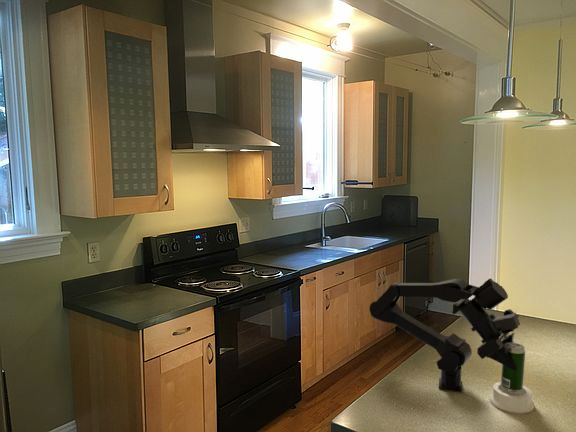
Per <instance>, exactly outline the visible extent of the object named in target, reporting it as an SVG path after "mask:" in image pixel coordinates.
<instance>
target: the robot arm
mask: <svg viewBox="0 0 576 432" xmlns="http://www.w3.org/2000/svg"><path fill="white" fill-rule="evenodd" d="M472 296H474V297H473V298H472V299H470V298H471V297H472ZM401 297H402V298H403V297H405V298H406V297H409V298H434V299H438V300H441V301H444V302H447V303H453V304H452V311H451V314H453V315H456V314H457V313H458V312H460V314H461V315H462V316H463V317H464V318H465V319H466V321H467V322H468V323H469V324H470V326H471V328H470V330H471V331H472V332H473V333H474V332H476V333H477V334H478V335H479V336H480V338H481V341H480V342H481V344H480V345H479V346H478V347H477V350H476V351H477V352H476V354H477V355H478V356H479V358H480V359H481V360H483V359H485V358H489V359H490V360H493V361H495V362H497V363H499V364H501V365H502V364H503V365H505V366H506V367H508V368H510V369H512V370H514V371H515V370H517V369H518V368H517V366H516V365H515V363H514V361H513V360H512V358H511V357H510V355H509V354H508V352H507V351H506V345H507V343H515V342H514V337H515V332H514V331H515V330H516V329H518V328H519V326H520V325H521V322H520V320H519V318H520V317H519V316H520V315H518V314H517V312H514V311H513V310H512V309H510V308H509V309H506V310H504V311H503V314H502V315H500V316H497V317H496V316H495V315H494V314H493V313H490V314H489V312H487V310H490V311H491V310H493V309H494V308H495V307H497V306H498V305H500V304H501V303H503V302H504V301H507V299H508V298H509V295H508V293H507V291H506V289H505V288H504V287H503V286H502V285H500V284H499V283H498V282H496V281H494V280H493V279H492V278H488V279H487V280H486V281H484V283H483V284H481V285H479V286H476V285H473V284H469V283H467V282H466V281H464V279H462V278H453V279H448V280H443V281H440V282H439V281H438V282H399V281H397V282H395V283H392V284H391V285H389V287H388V288H387V290H386V291H385V292H384V293H383V294H382V295H380V296H379V298H377V299H376V300H374V301H372V303H371V302H370V303H371V304H369V312H370V315H371V317H372V318H374V319H375V320H377V321H380V322H382V323H387V324H392V325H395V326H397V327H398V328H400V329H401V330H404V331H405V332H407V333H408V334H410V335H411V336H413V337H415V338H417V339H418V340H420V341H422V342H423V343H425V344H426V345H428V346H429V347H431V348H433V349H434V350H435V351H436V352H437V354H438V355H439V356H440V358H439V359H438V360H437V361H436V366H437V369H439V370H440V378H439V381H438V389H439V390H442V391H443V390H444V391H451V392H457V393H463V381H462V366H464V364H465V363H466V362H467V361H469V359H470V358H471V356H472V353H473V352H472V348H471V345H470V344H469V343H468V342H466V339H464V338H462V337H459V336H458V335H457V334H455V333H454V332H453V333H451V334H449V336H447V335H443V334H442V333H440V332H438V331H436V330H434V329H433V328H431V327H430V326H428V325H426V324H425V323H423V322H421V321H419V320H418V319H416V318H415V317H413V316H411V315H409V314H407V313H406V312H404V311H403V310H402V309H401V307H400V306H399V304H397V303H398V302H399V300H400V298H401ZM461 300H462V301H461ZM459 301H461V302H459ZM457 302H459V303H457ZM486 309H487V310H486ZM510 332H512V333H511V334H509V333H510Z"/></svg>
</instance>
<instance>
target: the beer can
mask: <svg viewBox="0 0 576 432" xmlns="http://www.w3.org/2000/svg"><path fill="white" fill-rule="evenodd" d="M506 351H507V352H508V354H509V355H510V357H511V358H512V360H513V361H514V363H515V365H516V366H517V368H518V369H517V370H515V371H514V370H512V369H510V368H508V367H506V366H505V365H503V364H501V381H500V382H501V385H502V387H503V388H504V389H505V390H507V391H510V392H520V391H521V390H522V388H523V386H524V374H525V373H524V372H525V362H526V361H525V360H526V359H525V358H526V350H525V346H524V345H523V344H520V343H517V342H514V343H507V345H506Z"/></svg>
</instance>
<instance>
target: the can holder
mask: <svg viewBox="0 0 576 432" xmlns="http://www.w3.org/2000/svg"><path fill="white" fill-rule="evenodd" d="M532 398H533V393H532V390H531V389H530V388H528V387H527V386H525V385H523V388H522V390H521V391H520V392H510V391H507V390H505V389H504V388H503V387H502V385H501V381H498V382H496V383H494V384H493V386H492V392H491V393H490V394H489V401H490V403H491V405H493V407H495V408H497V409H498V410H501V411H503V412H506V413H511V414H517V415H525V414H530V413H532V412H534V410H535V409H534V408H535V402H534V401H533V399H532Z"/></svg>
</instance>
